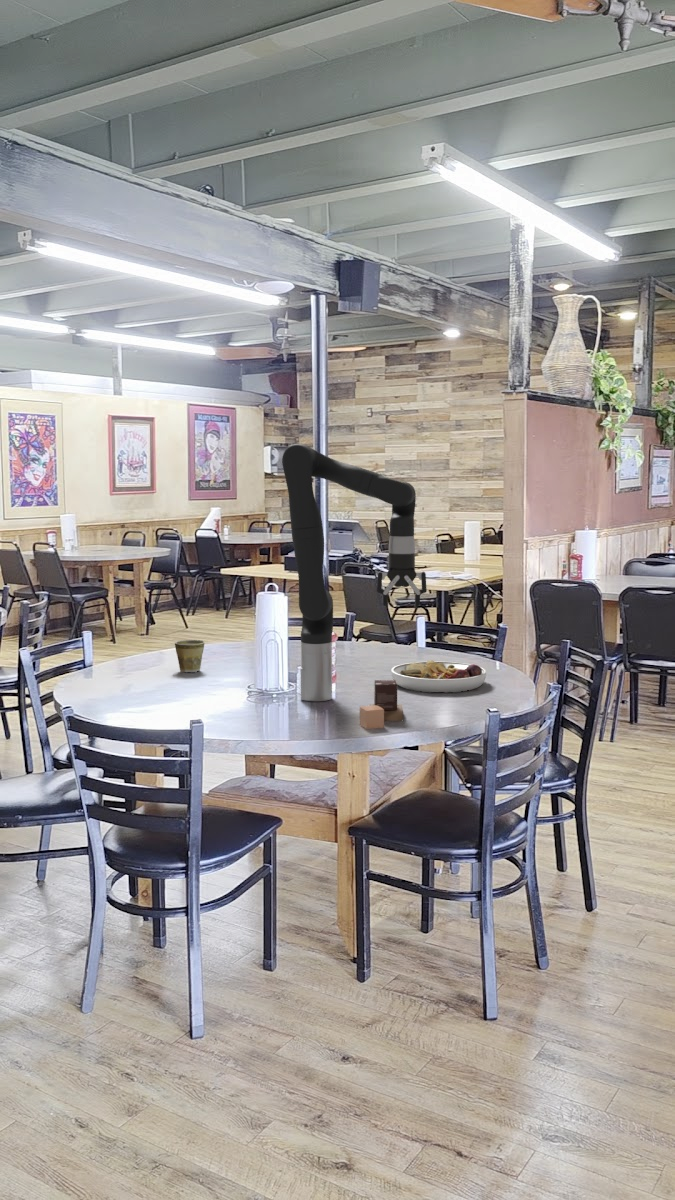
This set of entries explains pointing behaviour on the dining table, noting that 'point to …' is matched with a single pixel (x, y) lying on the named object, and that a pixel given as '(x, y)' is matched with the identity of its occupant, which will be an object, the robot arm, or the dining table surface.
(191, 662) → the ceramic cup
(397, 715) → the plinth
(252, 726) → the dining table surface
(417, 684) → the bowl
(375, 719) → the terracotta block
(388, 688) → the box
